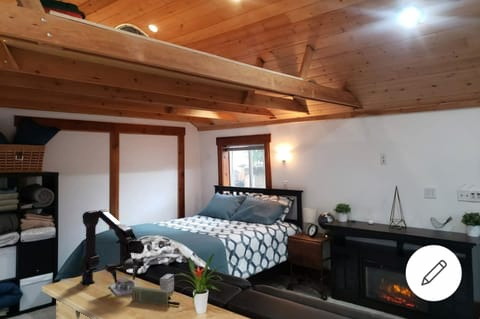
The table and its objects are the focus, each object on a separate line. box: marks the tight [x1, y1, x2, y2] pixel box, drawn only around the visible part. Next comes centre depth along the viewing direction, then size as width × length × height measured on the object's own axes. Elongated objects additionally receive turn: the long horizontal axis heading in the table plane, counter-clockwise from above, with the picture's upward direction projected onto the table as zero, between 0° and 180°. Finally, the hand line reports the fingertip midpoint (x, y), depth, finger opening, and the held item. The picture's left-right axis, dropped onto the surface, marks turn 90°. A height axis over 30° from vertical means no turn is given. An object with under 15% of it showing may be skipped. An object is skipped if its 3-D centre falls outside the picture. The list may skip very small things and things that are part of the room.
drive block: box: [117, 277, 134, 291], centre depth 183 cm, size 9×5×4 cm, turn 44°
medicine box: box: [159, 273, 175, 294], centre depth 178 cm, size 8×4×9 cm, turn 169°
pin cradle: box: [108, 278, 139, 297], centre depth 183 cm, size 16×12×4 cm
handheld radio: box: [131, 286, 181, 306], centre depth 165 cm, size 7×3×25 cm
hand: (124, 281), depth 183 cm, fingers open, 9 cm apart
